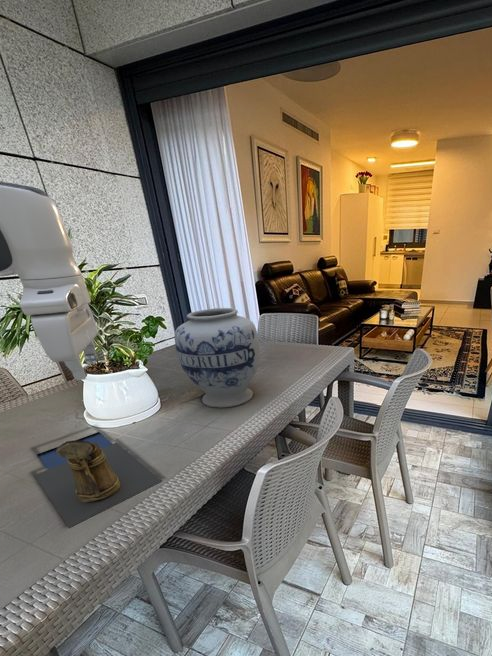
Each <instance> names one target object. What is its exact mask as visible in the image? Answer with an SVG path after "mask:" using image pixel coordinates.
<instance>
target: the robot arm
mask: <svg viewBox="0 0 492 656" xmlns="http://www.w3.org/2000/svg"><path fill="white" fill-rule="evenodd" d="M69 235H70V234H69V233H68V230H67V228H66V226H65V223H64V220H63V218H62V216H61V213H60V211H59V209H58V207H57V206H56V204H55V201H54V200H53V199H52V198H51V196H50V195H49V194H48V193H46V192H45V191H44V190H42V189H40V188H37V187H35V186H29V185H24V184H19V183H13V182H8V181H0V277H9V276H16V275H17V276H18V278H19V280H20V283H21V285H22V287H23V288H22V295H21V298H20V300H19V306H20V310H21V311H22V313H23V314H24V316H30V323H31V326H32V329H33V331H34V333H35V334H36V335H35V336H36V337H37V339H38V341H39V344H40V345H41V347H42V349H43V351H44V353H45V355H46V356H47V357H48V358H49V359H50V361H52V362H53V363H62V362H63V363H64V365H65V366H66V367H67V369H68V370H69V371H70V372H71V375H72V376H73V379H74V380H75V381H83V380H86V379H87V377H88V373H87V370H86V368H85V367H83V365H82V363H81V358H80V355H81V354H82V353H83V354H84V356H83V358H84V360H85V362H86V364H87V365H95V364H97V362H98V361H99V359H98V356H97V353H96V346H95V345H96V344H95V341H94V340H95V338H96V337H97V336H98V335H99V329H98V326H97V323H96V320H95V318H94V314H93V312H92V310H91V308H90V306H89V305H90V303H91V302H92V300H91V297H90V293H89V291H88V288H87V285H86V282H85V280H84V277H83V274H82V271H81V269H80V268H79V266H78V265H77V263H76V261H75V259H74V250H73V249H74V248H73V243H72V240H71V239H70V236H69Z"/></svg>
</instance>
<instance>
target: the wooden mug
mask: <svg viewBox="0 0 492 656" xmlns="http://www.w3.org/2000/svg"><path fill="white" fill-rule="evenodd" d="M56 447H57V449H56V451H55V452H56V453H57V454H58V455H59V456H61V457H63V458H68V463H69V467H70V468H71V470H72V473H73V477H74V481H75V485H76V494H77V497H78V499H79V500H80V501H81V502H85V503H86V502H96V501H99V500H103V499H105V498H107V497H109V496H111V495H113V494H114V493H115V492H117V491H118V489H119V488H120V486H121V484H120V481H119V479H118V477H117V476H116V475H115V473H114V472H113V470H112V469H111V467H110V465H109V464H108V462H107V460H106V456H105V454H104V452H103V451H102V449H101V448H99V446H98V445H97V444H95V443H89V442H87V441H75V440H67V441H65V442H63V443H62V444H59V446H56Z"/></svg>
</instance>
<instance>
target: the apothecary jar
mask: <svg viewBox="0 0 492 656" xmlns="http://www.w3.org/2000/svg"><path fill="white" fill-rule="evenodd" d="M237 314H238V309H236V308H232V307H217V308H215V307H213V308H207V309H202V310H201V309H200V310H195V311H192V312H189V313H188V314H187V315H186V317H187V319H188V321H186V322H183V323H182V324H180V325H179V326H178V327H177V328H176V329H175V330H174V345H175V351H176V354H177V358H178V361H179V364H180V366H181V368H182V371H183V372H184V373H185V374H186V376H187V377H188V378H189V380H190V381H191V382H192V383H193V384H194V385H195V386H196V387H198V388H199V389H200V390H202V391H203V392H204V393H205V394H203V396H202V399H201V401H202V403H203V404H204V405H205V406H206V407H209V408H217V409H222V408H232V407H237V406H240V405H241V406H242V405H243V404H246V403H247V402H249V401H250V400H251V399H252V398H253V395H254V392H253V390H251V388H248V387H249V385H250V383H251V382H252V380H253V379H254V377H255V375H256V373H257V371H258V368H259V364H260V360H261V359H260V357H261V355H260V354H261V353H260V351H261V349H260V348H261V347H260V340H259V335H258V331H257V328H256V325H255V323H254V322H253V321H252V320H251V319H249V318H247V317H245V316H241V315H237Z"/></svg>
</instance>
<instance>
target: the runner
mask: <svg viewBox="0 0 492 656" xmlns="http://www.w3.org/2000/svg"><path fill="white" fill-rule="evenodd" d="M101 449H102V451H103V452H104V454H105V456H106V460H107V462H108V464H109V465H110V467H111V469H112V470H113V472H114V473H115V475H116V476H117V477H118V479H119V481H120V484H121V486H120V488H119V489H118V491H117V492H115V493H114V494H113V495H111V496H109V497H107V498H105V499H103V500H99V501H96V502H86V503H85V502H81V501H80V500H79V499H78V497H77V494H76V485H75V481H74V477H73V473H72V470H71V468H70V467H69V463H68V462H66V463H63V464H61V465H58V466H55V467H53V468H50V469H46V470H43V471H40V472H38V473H35V474H33V476H34V477H35V479H36V481H37V482H38V484H39V485H40V487H41V488H42V490H43V492H44V494H45V495H46V497H48V500H50V502H51V504H52V505H53V507H54V508H55V511H57V513H58V514H59V517H60V518H61V519H62V520H63V522H64V524H65V525H66V527H67V528H68V529H71V528H72V527H74V526H76V525H78V524H81V523H82V522H84V521H86V520H88V519H90V518H92V517H95V516H96V515H98V514H100V513H102V512H104V511H106V510H108V509H110V508H112V507H114V506H116V505H118V504H120V503H122V502H124V501H126V500H128V499H130V498H132V497H134V496H137V495H138V494H140V493H142V492H144V491H146V490H148V489H150V488H152V487H154V486H156V485H158V484H160V483H162V482H163V480H162V479H161V478H160V477H158V476H157V475H156V474H155V473H154V472H153V471H151V469H149V468H148V467H147V466H146V465H144V464H143V463H142V462H141V461H139V460H138V459H137V458H136V457H135V456H133V455H132V454H131V453H130V452H129V451H127V450H126V449H125V448H124V447H122V445H120V444H119V443H118V442H114V443H113V444H111V445H109V446H106V447H104V448H101Z"/></svg>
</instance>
